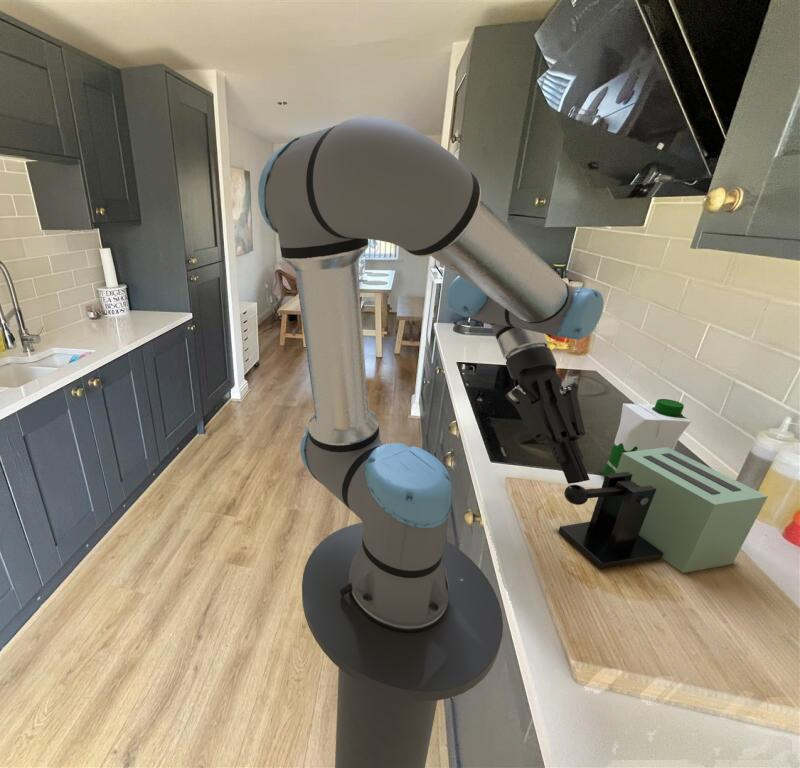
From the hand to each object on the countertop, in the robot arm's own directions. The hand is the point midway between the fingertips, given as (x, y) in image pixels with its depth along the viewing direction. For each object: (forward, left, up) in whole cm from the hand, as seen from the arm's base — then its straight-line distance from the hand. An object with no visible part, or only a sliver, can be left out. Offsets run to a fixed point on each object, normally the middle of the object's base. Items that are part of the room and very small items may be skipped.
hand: (578, 481), depth 65 cm
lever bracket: (+9, +3, -15) cm, 18 cm away
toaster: (+20, +7, -15) cm, 26 cm away
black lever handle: (+4, +1, -4) cm, 6 cm away
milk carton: (+23, +23, -15) cm, 36 cm away
